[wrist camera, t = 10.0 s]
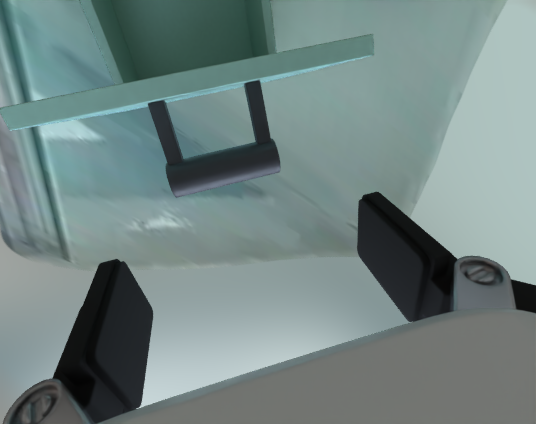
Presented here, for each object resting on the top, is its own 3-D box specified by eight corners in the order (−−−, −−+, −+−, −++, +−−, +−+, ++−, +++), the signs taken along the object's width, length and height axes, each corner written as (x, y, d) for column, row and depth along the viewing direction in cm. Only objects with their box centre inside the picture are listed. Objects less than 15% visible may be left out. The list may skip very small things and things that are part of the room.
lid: (-4, 108, 10) (67, 238, 12) (373, 33, 12) (378, 160, 14) (120, 102, 25) (142, 161, 27) (279, 69, 27) (289, 128, 29)
